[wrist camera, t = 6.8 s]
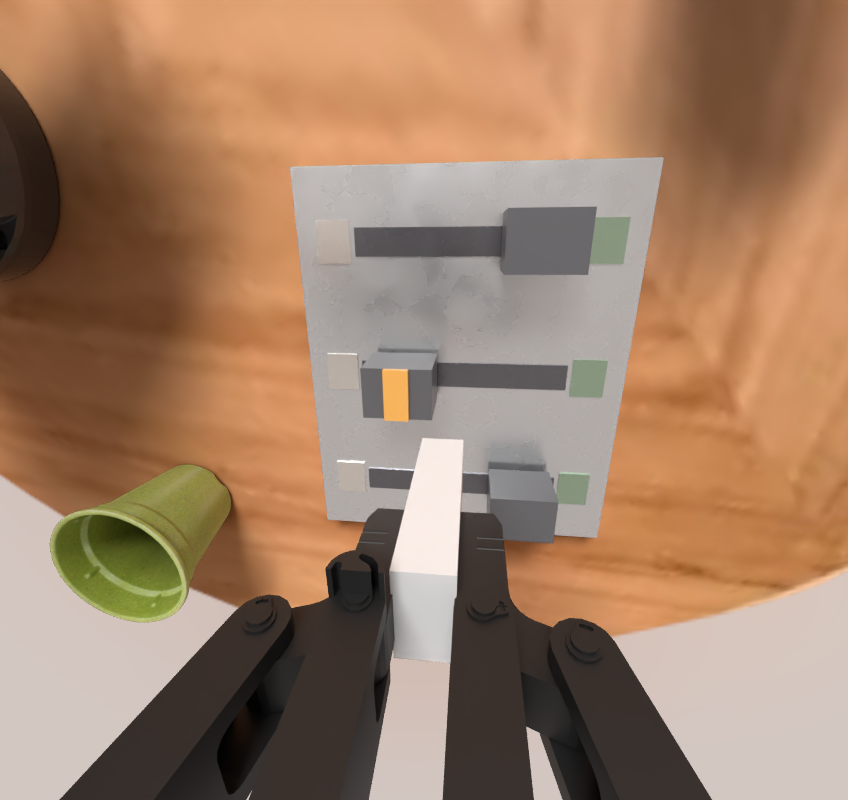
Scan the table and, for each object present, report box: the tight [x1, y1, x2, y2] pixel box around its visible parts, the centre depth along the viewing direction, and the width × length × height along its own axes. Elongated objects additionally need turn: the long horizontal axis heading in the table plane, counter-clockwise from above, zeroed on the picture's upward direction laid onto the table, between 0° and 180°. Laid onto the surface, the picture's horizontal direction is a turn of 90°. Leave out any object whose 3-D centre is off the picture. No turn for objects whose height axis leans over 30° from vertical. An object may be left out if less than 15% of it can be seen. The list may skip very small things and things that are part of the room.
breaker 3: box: [487, 469, 558, 543], centre depth 27 cm, size 4×3×4 cm
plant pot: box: [50, 464, 231, 622], centre depth 31 cm, size 9×9×9 cm
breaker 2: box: [500, 207, 597, 275], centre depth 21 cm, size 4×3×4 cm
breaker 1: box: [360, 352, 437, 422], centre depth 25 cm, size 4×3×4 cm
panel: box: [290, 157, 664, 538], centre depth 28 cm, size 20×24×2 cm
